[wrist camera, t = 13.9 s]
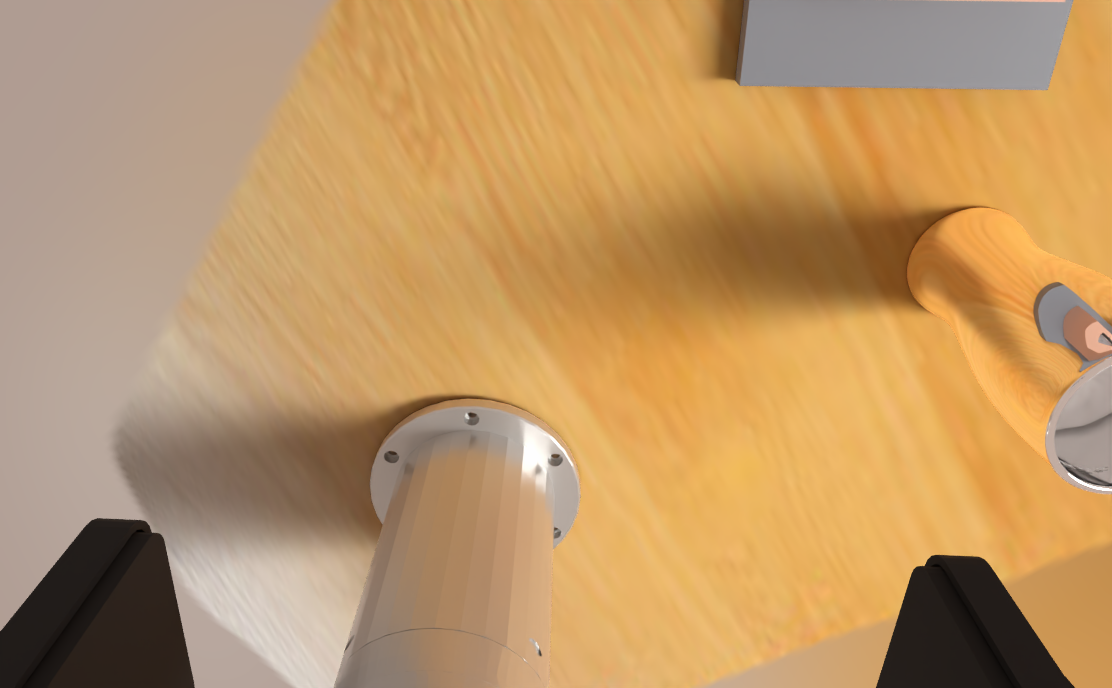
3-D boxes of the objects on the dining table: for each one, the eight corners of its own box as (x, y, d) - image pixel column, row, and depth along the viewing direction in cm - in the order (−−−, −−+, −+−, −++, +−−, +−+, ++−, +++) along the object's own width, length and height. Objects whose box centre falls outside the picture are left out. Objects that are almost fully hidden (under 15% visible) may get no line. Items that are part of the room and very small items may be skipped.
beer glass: (871, 259, 43) (1004, 419, 30) (991, 169, 41) (1194, 300, 27) (942, 345, 45) (1094, 529, 32) (1060, 265, 43) (1277, 428, 30)
